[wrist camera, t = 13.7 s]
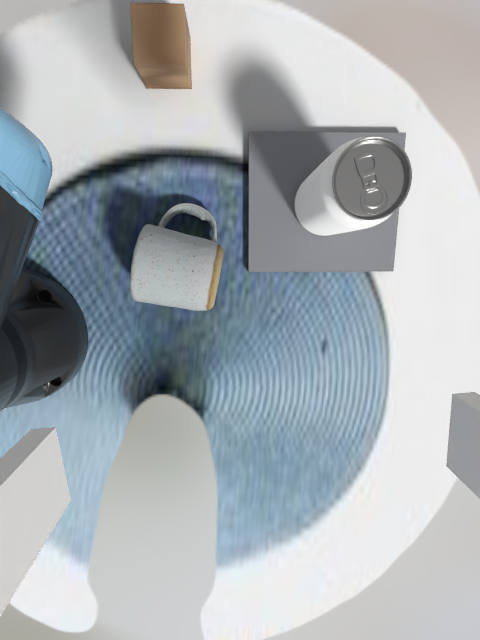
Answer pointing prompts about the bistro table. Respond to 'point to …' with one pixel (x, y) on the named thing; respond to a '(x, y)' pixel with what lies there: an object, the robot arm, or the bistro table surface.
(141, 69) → the walnut block
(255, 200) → the mat
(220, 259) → the ceramic mug
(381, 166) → the can
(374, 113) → the bistro table surface
